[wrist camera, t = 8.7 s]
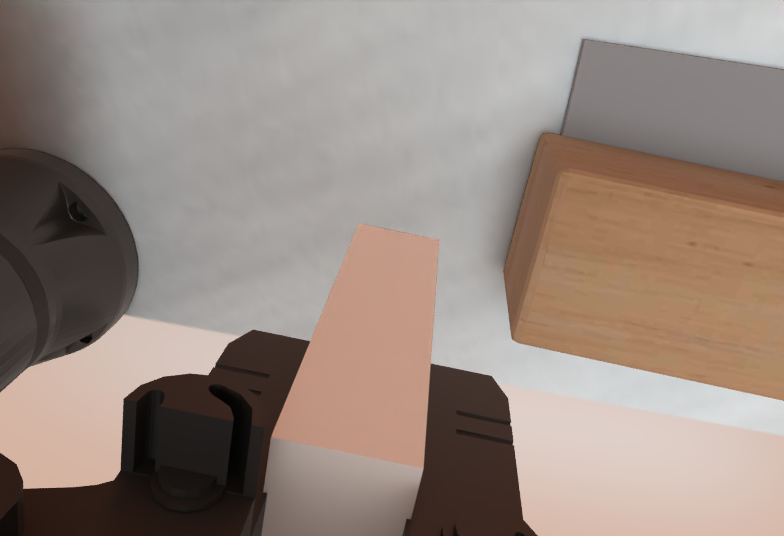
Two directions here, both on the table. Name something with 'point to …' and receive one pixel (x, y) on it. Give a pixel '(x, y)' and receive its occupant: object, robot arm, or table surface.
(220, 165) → the table surface
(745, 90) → the mat
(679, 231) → the wooden block
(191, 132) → the table surface
